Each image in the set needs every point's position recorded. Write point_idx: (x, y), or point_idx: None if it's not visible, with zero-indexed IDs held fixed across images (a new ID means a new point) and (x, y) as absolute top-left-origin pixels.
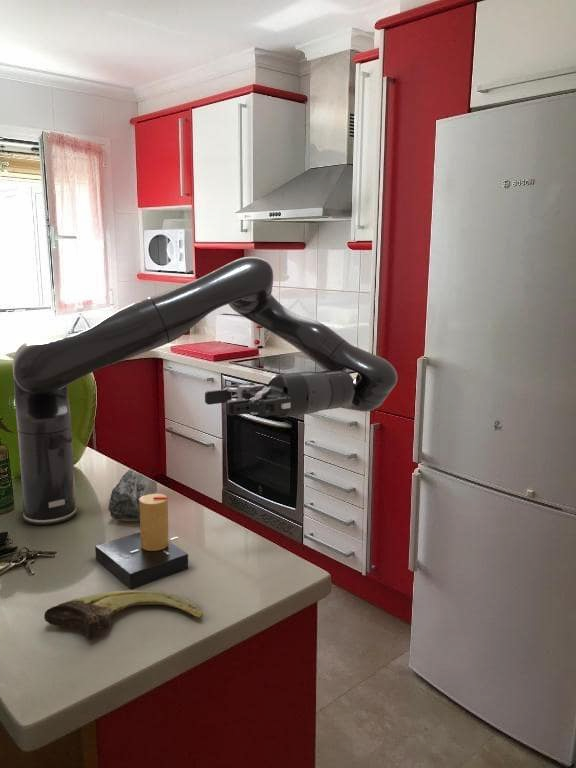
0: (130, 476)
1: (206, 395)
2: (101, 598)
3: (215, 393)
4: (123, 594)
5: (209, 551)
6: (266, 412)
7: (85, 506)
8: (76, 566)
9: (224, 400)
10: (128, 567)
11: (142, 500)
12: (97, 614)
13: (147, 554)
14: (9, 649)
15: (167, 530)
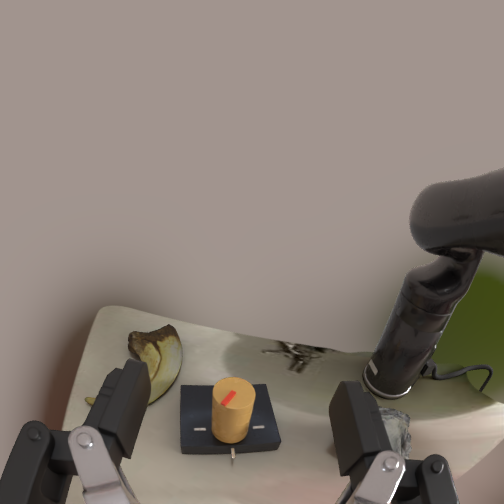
0: (384, 414)
1: (339, 385)
2: (161, 355)
3: (349, 413)
4: (157, 371)
5: (208, 495)
6: (49, 473)
7: (404, 408)
8: (259, 378)
9: (342, 465)
10: (195, 389)
11: (235, 379)
12: (135, 339)
13: (210, 413)
14: (167, 318)
15: (217, 428)
